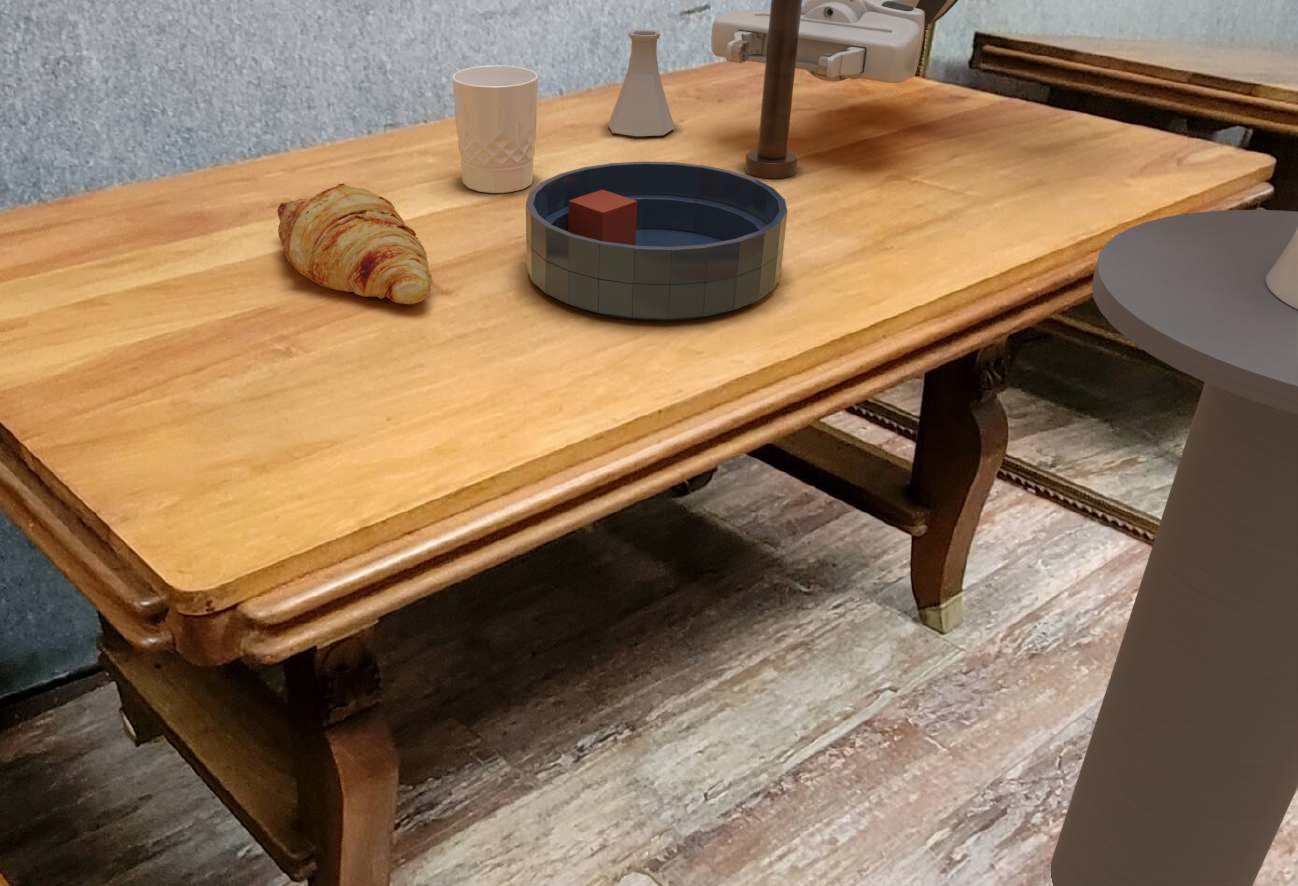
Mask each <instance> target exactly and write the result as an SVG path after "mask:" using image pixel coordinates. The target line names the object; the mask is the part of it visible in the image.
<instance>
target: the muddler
mask: <svg viewBox="0 0 1298 886" xmlns="http://www.w3.org/2000/svg"><path fill="white" fill-rule="evenodd" d="M802 6H803V0H770V7H769V11H770V19H769V30H768V41H767V52H766V64H764V77H763V86H762V87H763V88H762V96H761V97H762V99H761V108H760V109H761V110H760V120H759V134H758V144H757V149H752V150H750V151H748V152H747V153H746V154H745V162H744V171H745V172H746V173H747V174H748V175H750V176H753V177H756V178H761V179H770V180H771V179H772V180H774V179H775V180H778V179H785V178H790V177H792V176H794V175H795V174H796V173H797V165H798V155H797V154H796V153H794V152H792V151H790V150H788V144H789V143H788V142H789V133H790V123H791V112H792V103H793V95H794V94H793V93H794V84H795V75H796V68H795V66H796V56H797V46H798V36H799V27H800V17H801V7H802Z"/></svg>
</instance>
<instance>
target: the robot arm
mask: <svg viewBox="0 0 1298 886" xmlns="http://www.w3.org/2000/svg"><path fill="white" fill-rule="evenodd" d="M958 1H959V0H805V2H804V3H802V7H801V17H800V27H799V36H798V46H797V56H796V66H795V69H796V70H797V69H798V70H802V71H803V70H804V71H807V72H808V74H809V75H812V76H813V77H814V78H816V79H819V80H822V81H826V82H831V83H832V82H842V81H845V80H848V79H850V80H860V79H862V80H869V81H876V82H882V83H888V84H899V83H904V82H905V81H908V80H910V79H912V78H914V77H915V76H916V73H917V69H918V66H919V62H920V58H921V53H922V47H923V41H924V33H925V27H926V26H930V25H932V24H934V23H936V22H937V21H939V20H941V18H943V17H944V16H945V15H946V14H947V13H948V12H949V11H950V10H951V9H952V8H953V7H954V6H955V5H956V3H958ZM769 19H770V9H769V10H768V9H744V10H739V11H735V12H730V13H725V14H722V15H719V16H717V17H715V18H714V19H713V22H712V27H711V35H710V48H711V52H712V54H713V55H714V56H716V57H719V58H725V60H726V62H728V63H736V64H742V63H745V62H747V61H748V62H750V63H751V62H752V63H758V64H764V65H765V64H766V52H767V41H768V30H769ZM1265 281H1266V285H1267V287H1268V288H1269V290H1270V291H1271V292H1272V293H1273V294H1274V295H1275V296H1276V297H1277V298H1279V299H1280V300H1282V301H1283V302H1285V303H1286V304H1288V305H1290V306H1291V307H1293V308H1295V309H1297V310H1298V228H1297V229H1296V231H1295V233H1294V235H1293V237H1292V238H1291V240H1290V242H1289V243H1288V245H1287V246H1286V248H1285V250H1284V251H1283V253H1282V254H1281V256H1280V257H1279V259H1278V260H1277V262H1276V263H1275V265H1274V266H1273V267H1272V268H1271V270H1270V271H1269V272H1268V274H1267V275H1266V279H1265Z"/></svg>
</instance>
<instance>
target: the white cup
mask: <svg viewBox="0 0 1298 886" xmlns="http://www.w3.org/2000/svg"><path fill="white" fill-rule="evenodd" d="M451 79H452V90H453V101H454V102H453V103H454V115H455V125H456V127H455V128H456V134H457V144H458V152H459V154H460V166H461V179H462V184H463V185H464V186H465V187H467V189H470V190H473V191H476V192H480V193H487V194H488V193H489V194H504V193H512V192H513V193H514V192H517V191H522V190H524V189H526V188H528V187H530V186H531V185H532V183H533V180H534V157H535V155H536V142H537V141H536V139H537V121H538V119H537V118H538V91H539V90H538V89H539V88H538V87H539V74H538V72H536V71H534V70H532V69H529V68H526V67H522V66H515V65H505V64H503V65H502V64H491V65H487V64H486V65H478V66H471V67H466V68H462V69H460V70H457V71H456V72H454V73H453V74H452V77H451Z"/></svg>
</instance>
